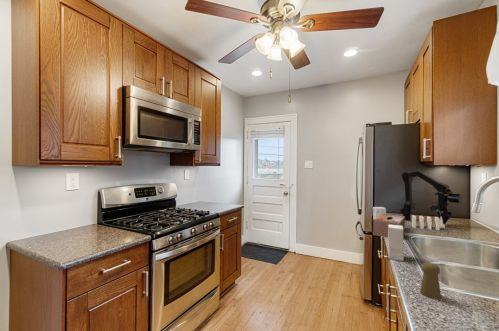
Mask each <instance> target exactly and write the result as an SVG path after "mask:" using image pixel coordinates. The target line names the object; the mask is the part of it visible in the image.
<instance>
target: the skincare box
mask: <svg viewBox="0 0 499 331" xmlns="http://www.w3.org/2000/svg"><path fill="white" fill-rule="evenodd" d="M387 238H388V239H387V243H388V244H387V246H388V247H387V249H388V250H387V251H388V259H389V260H395V261H400V262H403V261H404V260H405V259H404V231H403V226H400V225H390V224H389V226H388V237H387Z"/></svg>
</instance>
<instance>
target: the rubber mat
mask: <svg viewBox="0 0 499 331" xmlns="http://www.w3.org/2000/svg"><path fill="white" fill-rule="evenodd" d="M405 229H413V230H421V231H423V230H424V231H434V232H444V233H451V231H450V230H449V229H447V228H446V227H445V228H443V227H440V230H436V229H435V226H434V227H431V229H428V228H427V226H425V225H424V229H421V228H420V227H419V225H416V228H413V227H412V224H405Z"/></svg>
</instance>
